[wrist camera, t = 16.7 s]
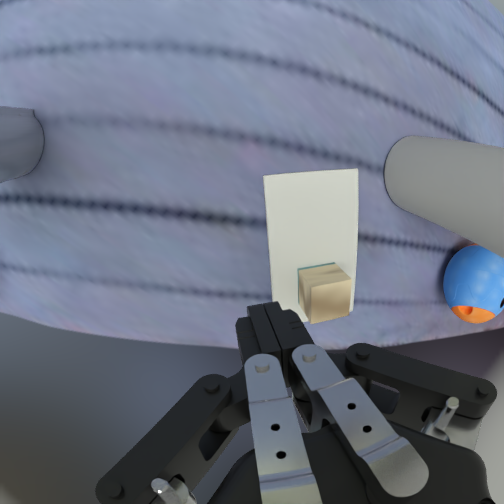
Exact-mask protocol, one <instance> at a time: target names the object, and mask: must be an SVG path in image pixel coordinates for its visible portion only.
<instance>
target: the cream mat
mask: <svg viewBox="0 0 504 504" xmlns="http://www.w3.org/2000/svg"><path fill="white" fill-rule="evenodd" d="M263 184H264V197H265V209H266V222H267V234H268V248H269V261H270V275H271V290H272V302H274V301H278V302H279V304H280V306H281V308H282V310H287V309H291V310H293V311H294V312H296V313H297V314H298V315H299V317H300V319H301V322H307V321H309V320H308V318H307V317H306V315H305V313H304V312H303V310H302V308H301V307H300V305H299V303H298V271H297V269H298V268H304V267H310V266H315V265H321V264H327V263H332V262H335V263H336V264H337V265H338V266H339V267H340V268H341V269H342V270H343V271H344V272H345V273H346V274H347V275H348V276H349V277H350V278H351V279H352V285H351V298H350V309H349V312H350V311H353V301H354V290H355V277H356V261H357V240H358V169H337V170H321V171H307V172H295V173H283V174H273V175H263Z"/></svg>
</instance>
